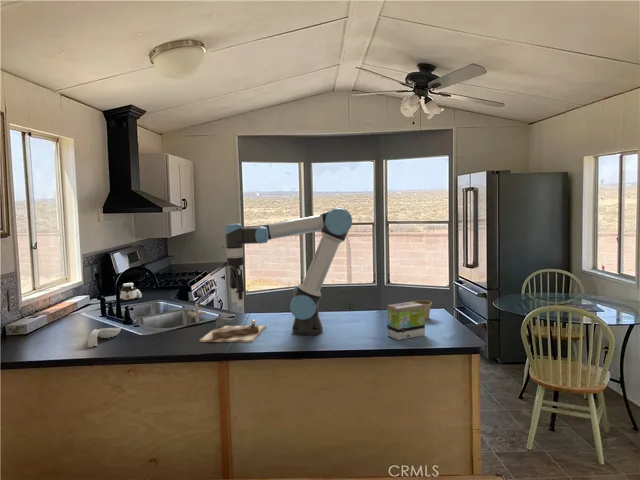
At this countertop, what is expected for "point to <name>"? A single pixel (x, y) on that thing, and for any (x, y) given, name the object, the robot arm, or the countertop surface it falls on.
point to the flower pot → (427, 307)
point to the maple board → (237, 338)
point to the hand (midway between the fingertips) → (237, 304)
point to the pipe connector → (196, 313)
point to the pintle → (253, 322)
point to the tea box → (405, 320)
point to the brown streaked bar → (235, 331)
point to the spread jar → (130, 292)
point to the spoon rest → (102, 335)
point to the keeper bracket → (221, 321)
